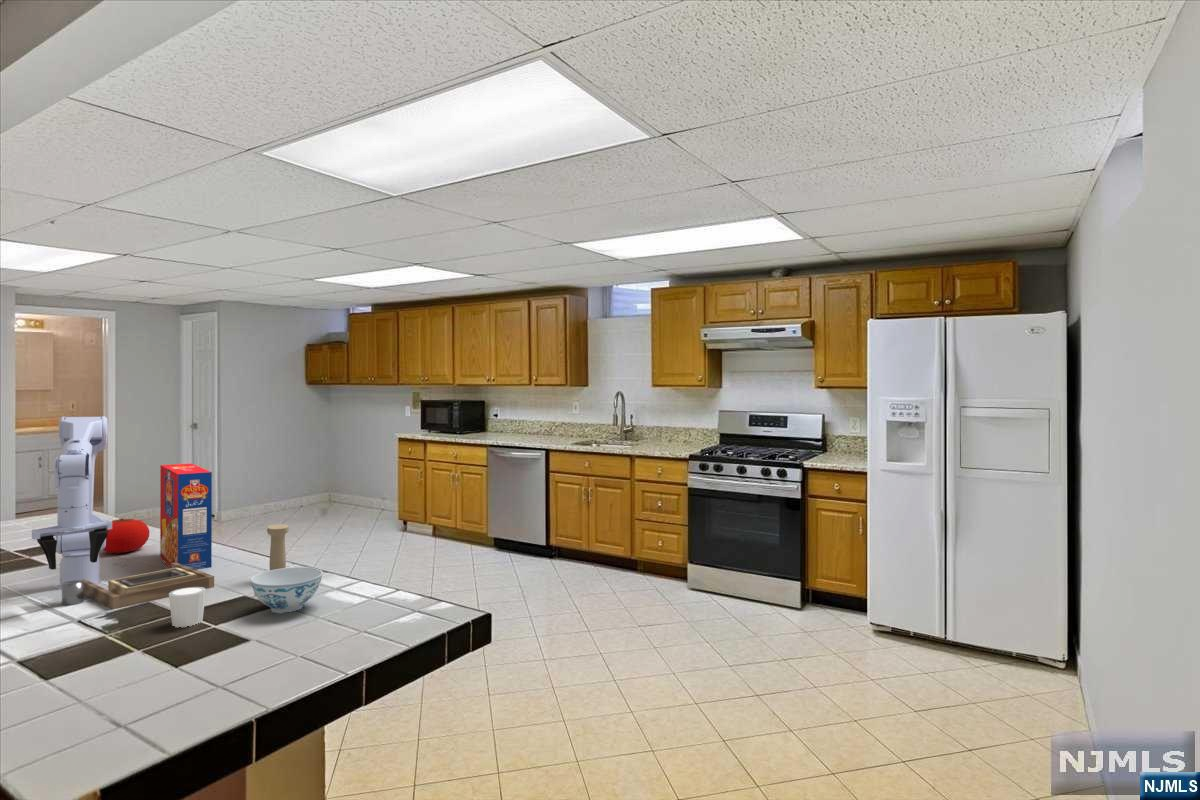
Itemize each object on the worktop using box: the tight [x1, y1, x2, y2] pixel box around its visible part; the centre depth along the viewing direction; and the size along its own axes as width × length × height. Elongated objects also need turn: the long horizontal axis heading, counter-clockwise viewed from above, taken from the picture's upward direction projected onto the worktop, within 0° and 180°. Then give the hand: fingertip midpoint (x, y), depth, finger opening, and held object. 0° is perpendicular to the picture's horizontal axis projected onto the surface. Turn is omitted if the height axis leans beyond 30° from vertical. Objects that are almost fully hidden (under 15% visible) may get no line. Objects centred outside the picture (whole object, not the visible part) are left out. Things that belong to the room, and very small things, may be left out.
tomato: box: [102, 518, 150, 554], centre depth 205 cm, size 14×13×10 cm
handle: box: [266, 523, 289, 571], centre depth 173 cm, size 5×6×15 cm
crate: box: [107, 567, 197, 595], centre depth 161 cm, size 11×15×4 cm
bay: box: [83, 562, 215, 610], centre depth 163 cm, size 22×21×4 cm
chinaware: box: [250, 566, 323, 614], centre depth 153 cm, size 15×15×8 cm
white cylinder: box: [168, 587, 207, 628], centre depth 143 cm, size 7×7×7 cm
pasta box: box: [159, 463, 213, 570], centre depth 191 cm, size 28×8×28 cm, turn 42°
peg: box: [61, 580, 85, 607], centre depth 152 cm, size 4×4×6 cm
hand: (73, 565), depth 152 cm, fingers open, 7 cm apart
